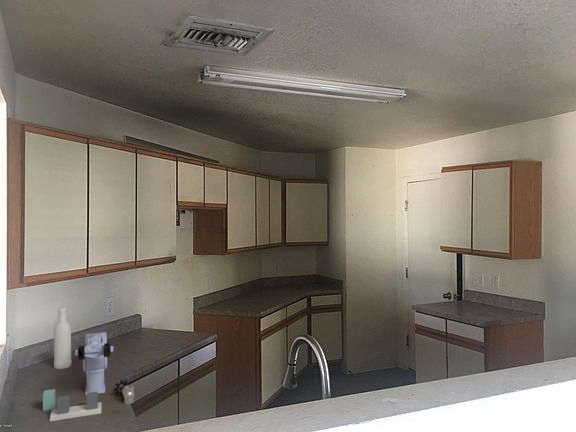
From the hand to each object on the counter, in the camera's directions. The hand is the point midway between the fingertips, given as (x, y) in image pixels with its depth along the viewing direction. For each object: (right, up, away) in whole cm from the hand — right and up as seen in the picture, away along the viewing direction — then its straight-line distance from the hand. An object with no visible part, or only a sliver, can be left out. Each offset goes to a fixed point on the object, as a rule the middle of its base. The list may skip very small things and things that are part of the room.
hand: (94, 354), depth 182 cm
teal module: (-19, -22, +1) cm, 29 cm away
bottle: (-37, -21, +50) cm, 66 cm away
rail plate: (-5, -22, -3) cm, 23 cm away
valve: (+9, -22, +9) cm, 26 cm away
